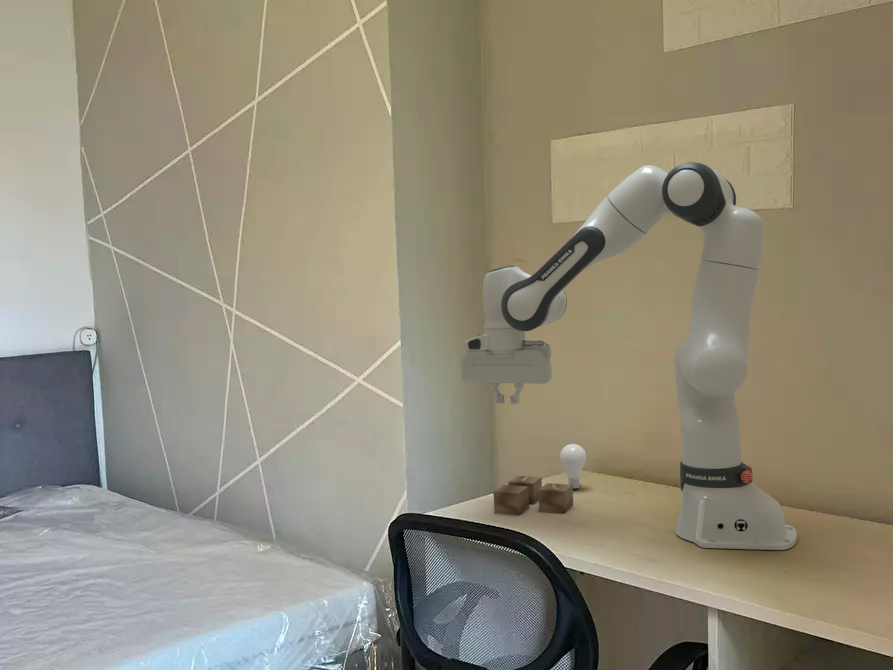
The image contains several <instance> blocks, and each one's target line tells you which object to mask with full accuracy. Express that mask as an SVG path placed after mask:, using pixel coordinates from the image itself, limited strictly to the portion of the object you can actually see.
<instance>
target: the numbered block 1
mask: <svg viewBox="0 0 893 670" xmlns="http://www.w3.org/2000/svg"><path fill="white" fill-rule="evenodd" d="M542 481H543V479H542V476H531V475H530V476H529V475H515V477H513V478H511V479H510V480H509V481H508V482H507V483H508V484H507V485H512V486H526V487H528V488H529V505H535V504H536V503H537V501H538V502H539V493H538V490H539V489H540V488H541V487H543V485H542V484H543V483H542Z"/></svg>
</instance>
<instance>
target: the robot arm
mask: <svg viewBox="0 0 893 670" xmlns="http://www.w3.org/2000/svg"><path fill="white" fill-rule="evenodd" d="M671 215H672V216H673V215H674V216H675V217H677V218H678V219H679V218H680V219H681V220H682V221H683V222H685V223H688V224H690V225H693V226H696V227H699V228H700V229H701V230H702V233H703V243H702V244H703V246H702V251H701V256H700V260H699V264H698V270H697V274H696V279H695V284H694V288H693V292H692V299H691V319H690V328H689V329H690V330H689V336H687V337H686V338H684V340H682V342H681V343H680V344H679V345H678V347H677V349H676V351H675V354H674V368H675V369H674V370H675V380H676V381H675V382H676V384H675V385H676V391H677V392H676V394H677V402H678V410H679V418H680V434H681V437H680V439H681V440H680V441H681V462H680V463H679V469H678V470H679V471H678V473H679V487H680V491H681V497H680V499H681V500H680V508H679V515H678V520H677V524H676V528H675V530H674V532H675V534H676V535H677V536H678V537H680V538H681V539H683V540H687V541H689V542H691V543H694V544H696V545H697V546H699V547H701V548H704V549H705V548H706V549H728V550H729V549H731V550H732V549H733V550H734V549H735V550H736V549H737V550H762V551H763V550H768V551H769V550H770V551H784V550H788V549H791V548H793V547H794V546H795V545H796V543H797V542H798V533H797V530H796V528H795V527H794V526H792V525H790V524H789V523H788V524H786V523H785V516H784V513H783V510H782V507H781V505H780V503H779V501H777V499H775V498H774V497H772V496H771V495H769V494H768V493H767V492H765V491H764V490H762V489H761V488H760V487H758V485H756V484H755V483H753V477H754V476H753V475H754V474H753V467H752V465H751V464H749V466H748V464H746V463H744V462H742V458H741V456H742V455H741V454H742V453H741V451H742V450H741V449H742V448H741V447H742V446H741V421H740V419H739V418H740V417H739V414H738V408H737V402H736V395H735V393H736V392H737V391H738V390H739V389H741V387H742V386H743V384H744V383H745V380H746V378H747V374H748V369H747V368H748V363H747V361H748V355H749V353H748V352H749V345H750V343H749V341H750V329H751V314H752V307H753V302H754V298H755V295H756V294H755V292H756V290H757V289H756V288H757V283H758V278H759V275H760V269H761V264H762V257H763V249H764V233H765V231H764V230H765V229H764V228H765V227H764V226H765V225H764V222H763V218H761V216H760V215H759V213H756V212H755V211H753V210H751V209H749V208H745V207H741V206H737V196H736V191H735V189H734V187H733V185H732V184H731V182H730V181H729V180H727V178H725V177H724V176H723V175H722V173H720V172H719V171H717V170H716V169H714V168H713V167H709V166H708V165H706V164H704V163H700V162H696V161H695V162H693V161H692V162H685V163H684V162H683V163H681V164H679V165H677V166H675V167H674V168H672V169H671V171H669V172H667V171H665V170H664V169H663V168H660V167H659V166H657V165H649V164H647V165H643V166H641V167H639V168H637V170H635V171H633V172H632V173H631V174H629V176H627V177H626V178H624V179H623V180H622V181H621V182H620V183H619V184H618V185H616V186H615V187H614V189H612V190H611V191H610V192H609V193H608V195H606V196H605V197H604V198H603V200H602V201H601V202H600V203H599V204H598V206H597V207H596V208H595V209H594V210H593V211H592V213H590V215H589V216H588V218H587V219H586V220H585V221H584V222H583V224H581V226H580V227H579V228H578V230H577V231H576V232H574V234H573V236H572V237H570V239H568V241H567V242H566V243H565V244H564V245H562V247H560V249H559V250H557V251H556V252H555V253H554V254H553V255H552V256H551V257H550V258H549V259H548V260H547V261H546V262H545V263H544V264H543V265H542V266H541V267H540V268H539V269H538V270H537V271H536V272H535V273H533V274H532V275H531V274H529V273H528V272H525V271H524V270H522V268H520V267H519V266H517V265H507V266H501V267H497V268H493V269H491V270H489V271H487V273H486V274H485V276H484V279H483V284H482V285H483V286H482V287H483V288H482V308H483V309H482V310H483V312H484V317H485V319H484V325H483V334H479V335H477V336H475V337H471V338H470V339H467V340H464V341H463V347H464V350H465V352H464V353H463V354H462V357H461V379H462V381H464V383H467V384H469V383H470V384H471V383H472V384H474V383H475V384H489V388H490V390H491V392H492V394H493V395H494V396H495V403H496V404H504V403H505V400H506V399H505V394H502V393H501V391H500V390H499V388H500V384H514V388H515V389H516V390H515V391H514V394H512V395H509V398H510V401H509V402H510V404H512V405H514V404H515V405H518V404H519V403H520V395H521V393H522V392H523V389H524V388H525V384H541V385H542V384H548V383H550V381H552V380H551V379H552V377H553V373H552V372H553V370H552V365H551V364H552V363H551V360H550V359H551V356H552V351H551V350H552V349H551V346H550V345H549V344H548V343H547V342H545V341H544V340H540V339H539V340H526V334H525V332H529V331H533V330H536V329H537V328H540V327H542V326H546V325H547V326H548V325H549V324H553V323H555V322H556V321H558V320H559V319H561V318H562V317H563V316H564V315H565V313H566V310H567V305H568V299H567V295H566V292H565V290H564V289H566V288H567V287H568V286H569V285H570V284H571V283H572V282H574V280H575V279H576V278H577V277H578V276H579V275H580V274H581V273H582V272H583V271H585V270H586V269H588V268H589V267H591V266H593V265H594V264H596V263H599V262H602V261H604V260H608V259H610V258H614V257H616V256H619V255H621V254H624V252H626V251H627V250H629V249H631V247H634V245H635V244H637V243H638V242H639V241H640V240H642V239H643V238H644V236H646V234H647V233H648V232H649V231H651V229H653V227H654V226H655V225H657V223H659V221H661V220H662V219H663V218H665V217H668V216H671Z"/></svg>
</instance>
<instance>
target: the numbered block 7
mask: <svg viewBox="0 0 893 670" xmlns="http://www.w3.org/2000/svg"><path fill="white" fill-rule="evenodd" d="M573 491H574V490H573V485H569V483H568V484H567V483H553V482H551V483H550V482H546V483H545V484H544V485H542V487H541V488H540V489H539V490H538V493H539V501H538V512H540V513H554V514H567V513H566V512H567V511H568V510H569V509H570V508H571V507H572V506H573V507H574V492H573ZM573 507H572V508H573ZM572 508H571V509H572ZM571 509H570V510H571ZM570 510H569V511H570ZM569 511H568V512H569Z"/></svg>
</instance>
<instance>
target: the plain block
mask: <svg viewBox="0 0 893 670" xmlns="http://www.w3.org/2000/svg"><path fill="white" fill-rule="evenodd" d="M492 493H493V511H494V514H498V515H500V514H501V515H509V516H510V515H511V516H512V515H513V516H521V515H523V514H524V513H525V512H526V511H528V510H529V509H530V504H529V488H528V487H526V486H512V485H508V484H503V485H501V486H499V487H498V488H497V489H495V490H494V491H493V492H492Z"/></svg>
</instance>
